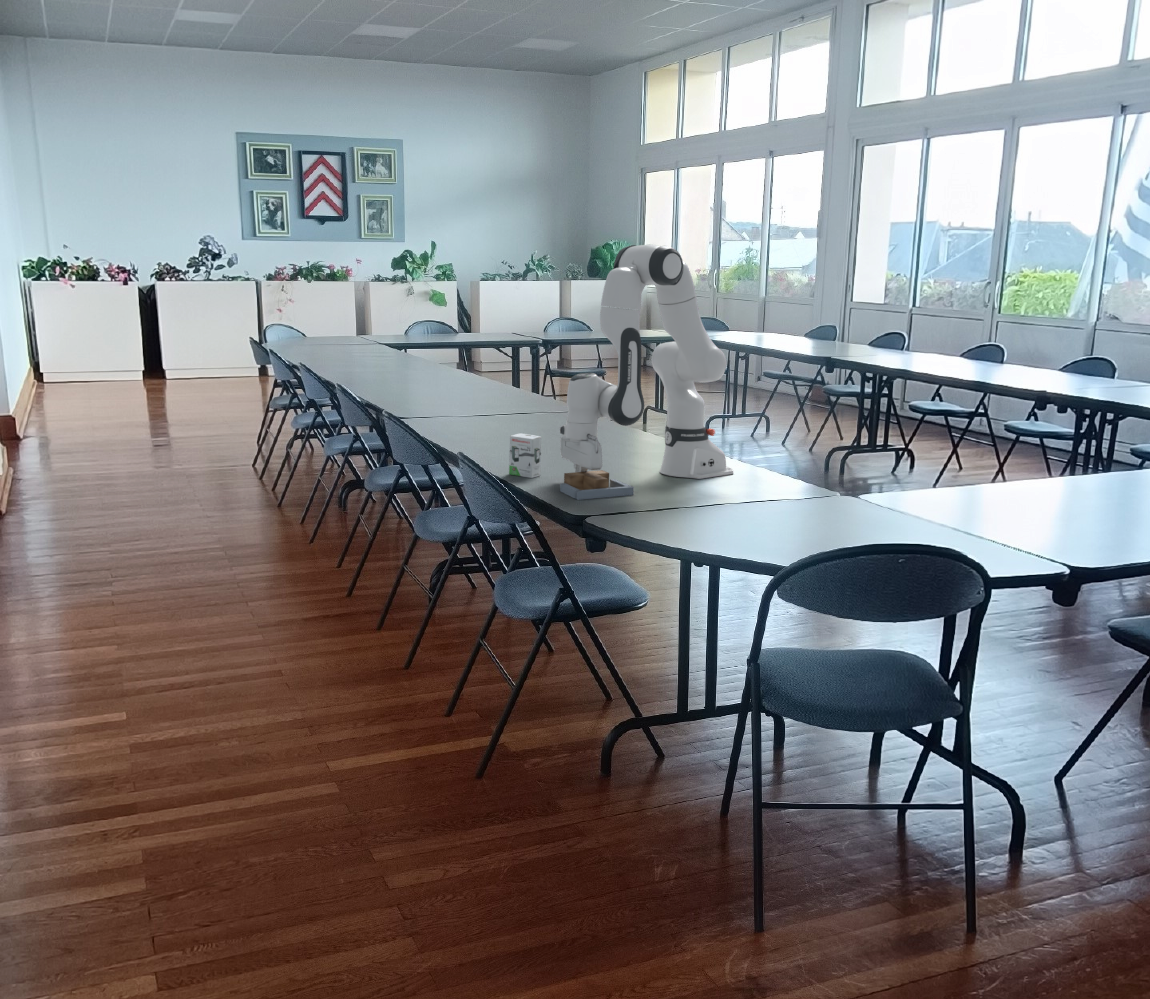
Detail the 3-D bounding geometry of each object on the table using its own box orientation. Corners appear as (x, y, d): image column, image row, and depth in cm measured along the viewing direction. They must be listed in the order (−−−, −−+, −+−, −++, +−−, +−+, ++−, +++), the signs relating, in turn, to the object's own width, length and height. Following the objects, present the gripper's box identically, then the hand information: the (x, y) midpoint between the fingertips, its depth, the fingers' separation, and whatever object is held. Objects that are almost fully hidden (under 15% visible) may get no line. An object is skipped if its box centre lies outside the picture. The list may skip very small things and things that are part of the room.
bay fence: (614, 486, 298) (614, 479, 298) (633, 494, 288) (633, 486, 288) (560, 491, 291) (560, 483, 290) (577, 499, 281) (577, 491, 281)
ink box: (508, 474, 311) (508, 435, 309) (517, 471, 315) (518, 432, 313) (531, 478, 307) (532, 438, 304) (541, 475, 311) (542, 436, 308)
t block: (602, 485, 299) (602, 470, 298) (620, 493, 289) (621, 477, 288) (563, 489, 294) (564, 473, 293) (581, 497, 284) (581, 481, 283)
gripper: (608, 437, 287) (607, 486, 290) (576, 425, 305) (575, 472, 308) (588, 438, 284) (586, 488, 287) (556, 426, 302) (555, 473, 305)
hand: (580, 479), depth 298 cm, fingers closed
